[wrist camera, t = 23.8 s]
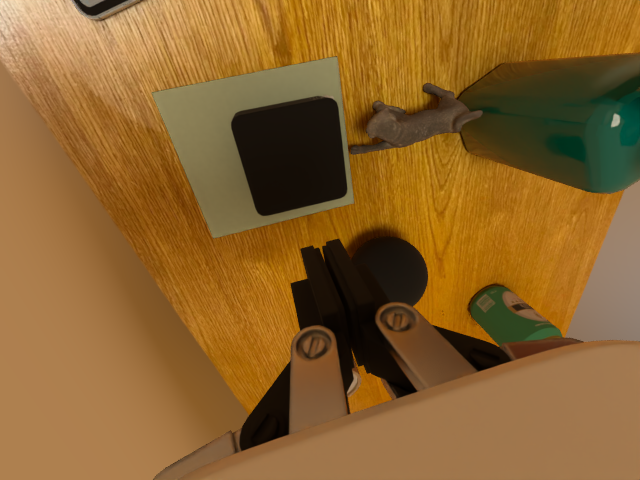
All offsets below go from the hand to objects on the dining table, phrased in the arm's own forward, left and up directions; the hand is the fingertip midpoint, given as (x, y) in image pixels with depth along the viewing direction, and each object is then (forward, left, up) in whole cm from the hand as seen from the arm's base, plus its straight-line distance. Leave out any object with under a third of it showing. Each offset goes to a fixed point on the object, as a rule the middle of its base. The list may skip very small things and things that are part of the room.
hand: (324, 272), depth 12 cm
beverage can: (+31, -34, -23) cm, 52 cm away
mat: (-1, 0, -23) cm, 23 cm away
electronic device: (-4, 0, -20) cm, 21 cm away
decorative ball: (+10, -17, -23) cm, 31 cm away
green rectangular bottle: (+26, 0, -23) cm, 35 cm away
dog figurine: (+14, +1, -23) cm, 27 cm away
